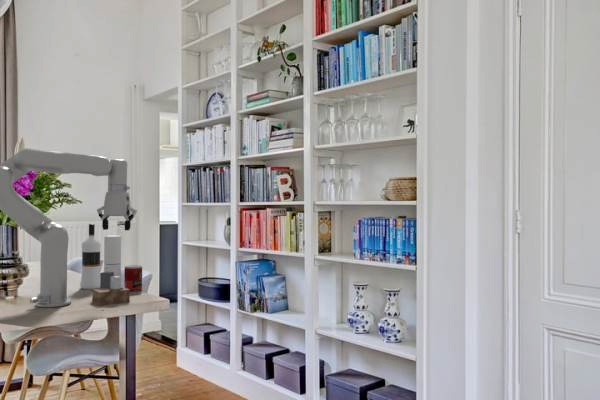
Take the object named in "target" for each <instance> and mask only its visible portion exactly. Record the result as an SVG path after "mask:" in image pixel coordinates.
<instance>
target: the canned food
mask: <svg viewBox="0 0 600 400" xmlns="http://www.w3.org/2000/svg"><path fill="white" fill-rule="evenodd" d="M123 281H124V285H123V287H124V288H127V289H130V292H139V291H142V289H143V266H142V265H137V264H131V265H130V264H129V265H125V266H124V280H123Z"/></svg>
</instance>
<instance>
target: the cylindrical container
mask: <svg viewBox="0 0 600 400" xmlns="http://www.w3.org/2000/svg"><path fill="white" fill-rule="evenodd" d="M103 240H104V243H103V247H104V248H103V249H104V250H103V272H114V276H121V277H122V275H121V273H122V266H121V264H122V235H104V239H103Z"/></svg>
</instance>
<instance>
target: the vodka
mask: <svg viewBox="0 0 600 400" xmlns="http://www.w3.org/2000/svg"><path fill="white" fill-rule="evenodd" d="M95 227H96V225H95V223H89V224H88V237H87V238H86V239H85V240H83V242H82V243H81V280H80V283H79V287H80V289H82V290H92V289H100V273H101V251H102V250H101V248H102V243H101V241H100V240H98V239H97V238H96V237H95V235H96V234H95V233H96V232H95Z"/></svg>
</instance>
